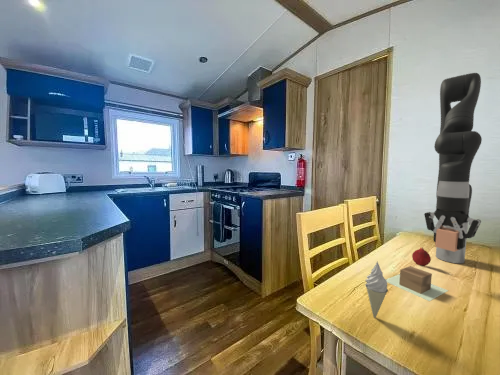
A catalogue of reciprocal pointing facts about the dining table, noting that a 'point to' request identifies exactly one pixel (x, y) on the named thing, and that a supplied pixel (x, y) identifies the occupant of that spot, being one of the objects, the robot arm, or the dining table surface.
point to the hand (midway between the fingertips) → (448, 246)
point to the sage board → (427, 295)
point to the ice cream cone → (376, 288)
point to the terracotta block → (446, 239)
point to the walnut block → (415, 279)
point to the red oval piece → (421, 257)
